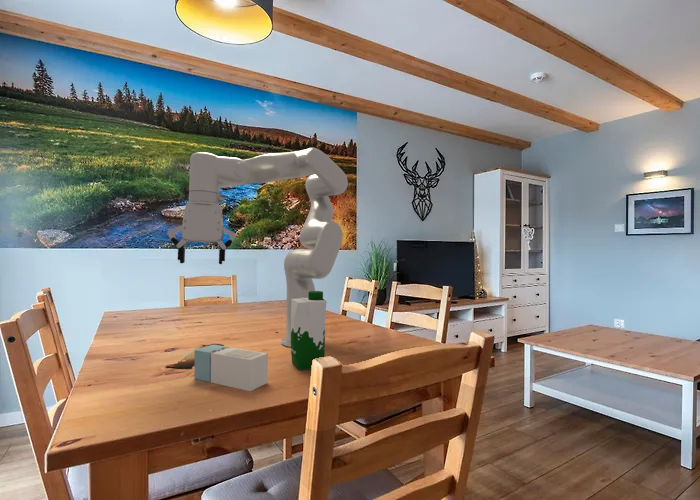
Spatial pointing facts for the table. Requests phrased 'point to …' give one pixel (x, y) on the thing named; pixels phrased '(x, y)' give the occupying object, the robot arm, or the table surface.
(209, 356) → the stub
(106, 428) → the table surface
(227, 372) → the block
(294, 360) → the milk carton
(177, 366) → the parchment
